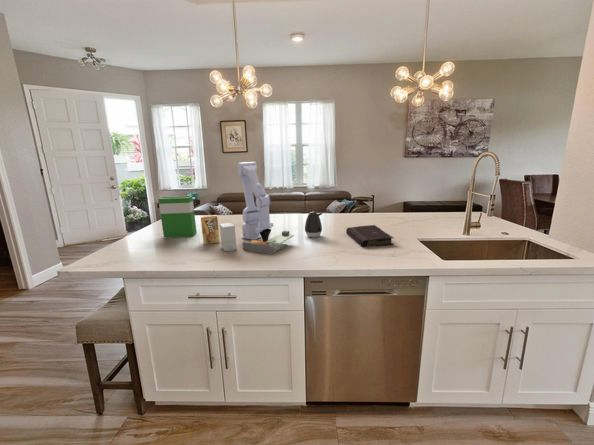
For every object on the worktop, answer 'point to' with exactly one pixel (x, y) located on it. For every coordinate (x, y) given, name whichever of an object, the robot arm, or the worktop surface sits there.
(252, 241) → the cylinder
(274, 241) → the cover
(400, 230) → the worktop surface
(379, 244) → the diary
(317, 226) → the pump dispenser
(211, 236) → the candy box
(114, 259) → the worktop surface
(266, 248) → the large grey box
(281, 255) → the worktop surface
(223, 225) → the small box
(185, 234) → the green cereal box
